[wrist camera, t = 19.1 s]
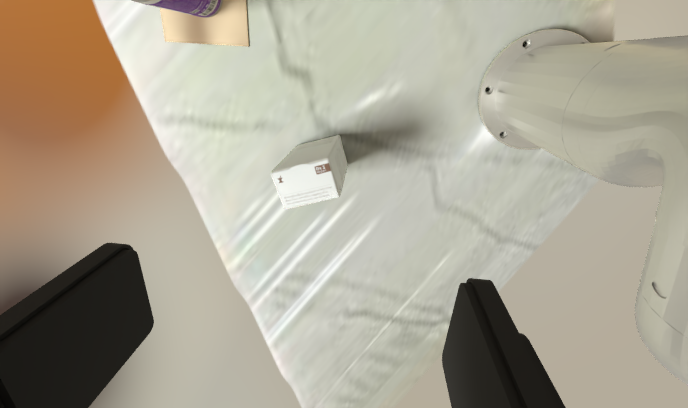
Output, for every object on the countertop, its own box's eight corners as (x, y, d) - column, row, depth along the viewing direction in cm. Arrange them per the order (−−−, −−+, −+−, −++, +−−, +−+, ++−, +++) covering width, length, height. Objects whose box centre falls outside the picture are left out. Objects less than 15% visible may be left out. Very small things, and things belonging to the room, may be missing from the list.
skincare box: (306, 175, 44) (282, 214, 33) (295, 143, 42) (266, 173, 31) (350, 164, 42) (341, 201, 31) (341, 130, 41) (328, 157, 30)
